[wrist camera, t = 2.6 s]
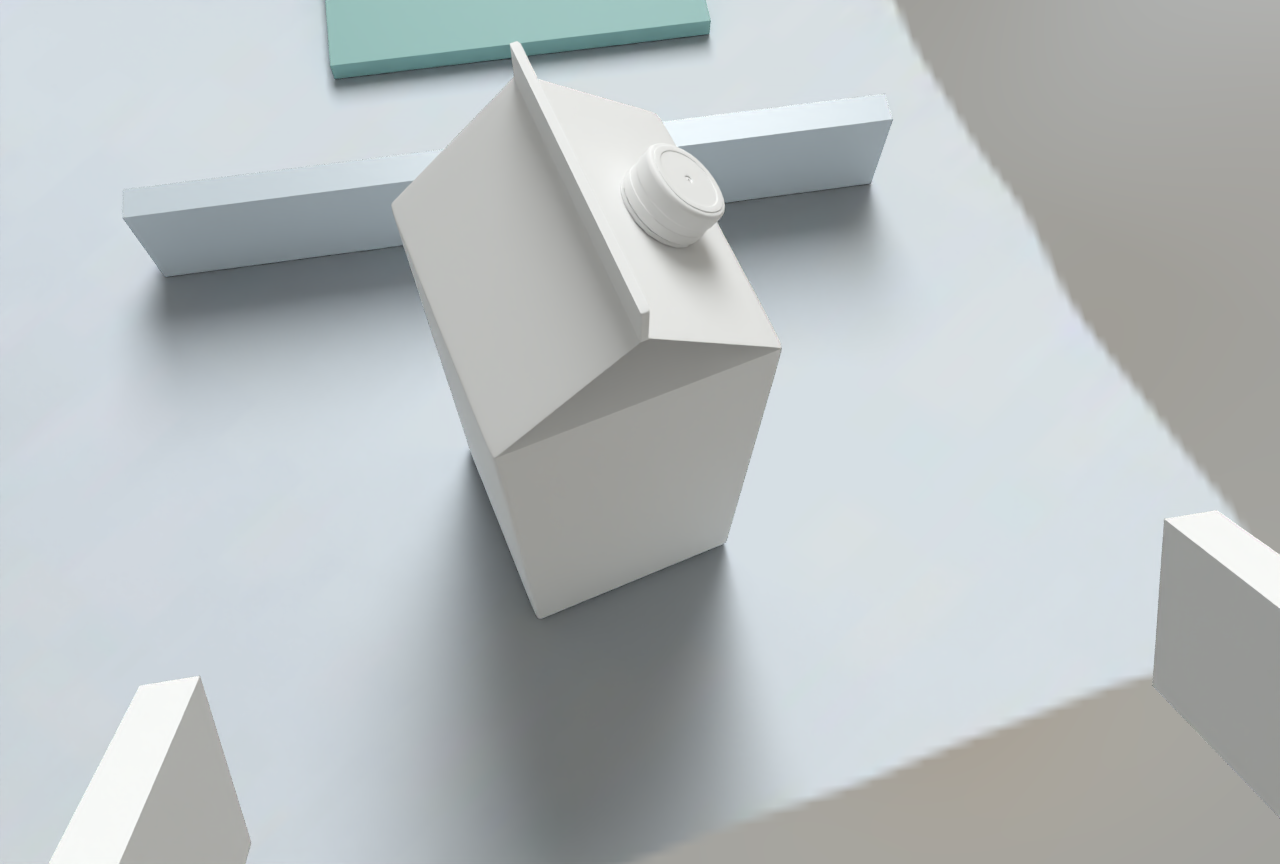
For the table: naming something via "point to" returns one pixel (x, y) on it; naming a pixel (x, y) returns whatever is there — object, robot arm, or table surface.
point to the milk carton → (589, 334)
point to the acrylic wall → (364, 189)
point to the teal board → (493, 29)
